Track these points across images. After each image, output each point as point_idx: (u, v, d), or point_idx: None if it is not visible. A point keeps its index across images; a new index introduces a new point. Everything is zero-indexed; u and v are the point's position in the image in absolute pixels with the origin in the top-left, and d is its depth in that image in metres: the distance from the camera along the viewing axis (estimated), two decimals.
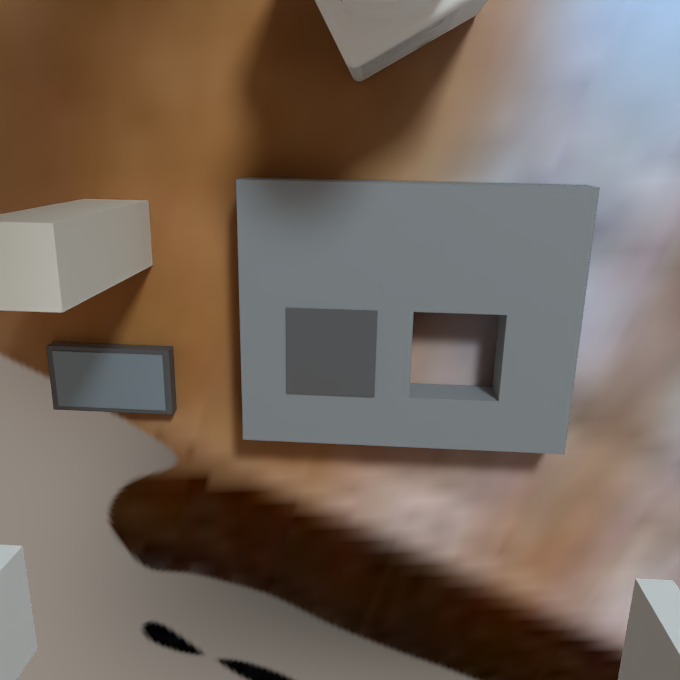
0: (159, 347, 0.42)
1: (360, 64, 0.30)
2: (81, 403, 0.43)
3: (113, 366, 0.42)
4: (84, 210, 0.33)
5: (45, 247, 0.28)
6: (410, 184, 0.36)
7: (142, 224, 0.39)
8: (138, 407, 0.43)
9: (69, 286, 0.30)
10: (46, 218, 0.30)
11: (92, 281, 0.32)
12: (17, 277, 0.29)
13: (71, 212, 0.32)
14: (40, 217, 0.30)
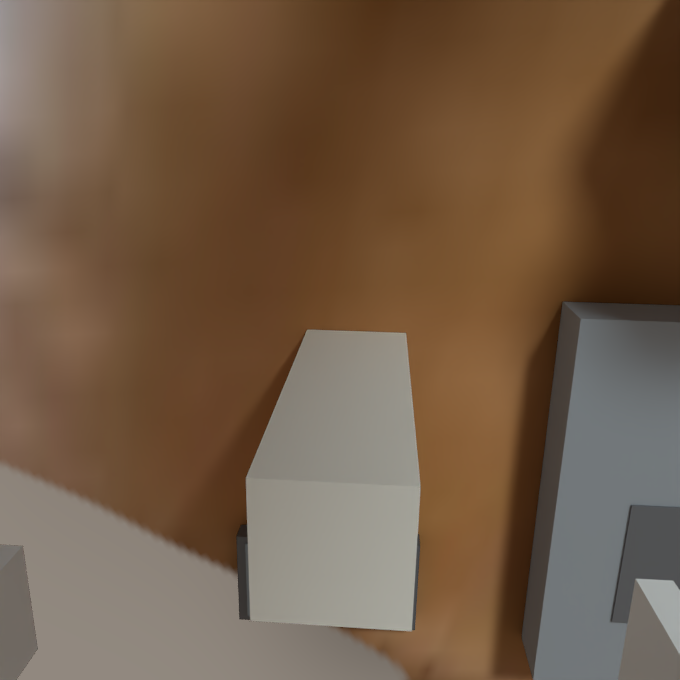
0: None
1: None
2: None
3: None
4: (377, 394, 0.20)
5: (398, 526, 0.15)
6: None
7: None
8: None
9: None
10: (372, 450, 0.16)
11: None
12: (334, 573, 0.16)
13: (371, 407, 0.19)
14: (355, 444, 0.17)
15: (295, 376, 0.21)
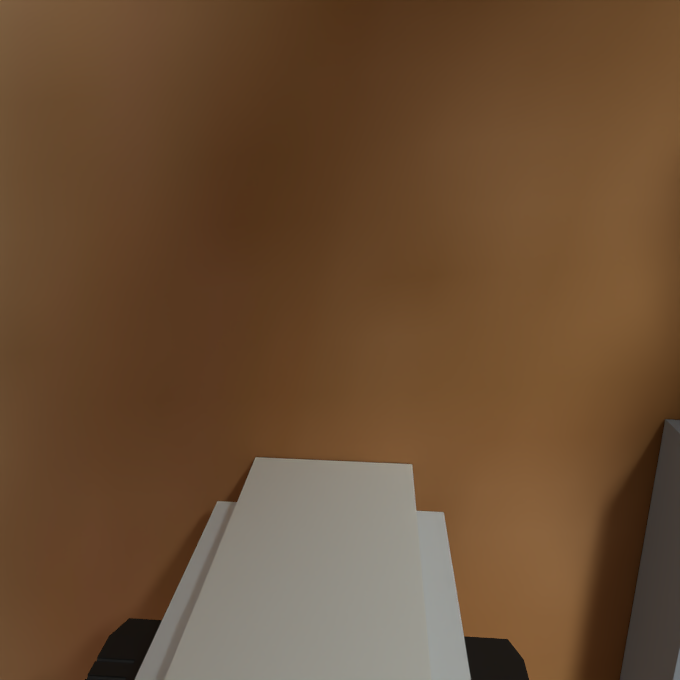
0: None
1: None
2: None
3: None
4: (363, 658, 0.10)
5: None
6: None
7: None
8: None
9: None
10: None
11: None
12: None
13: None
14: None
15: (212, 597, 0.12)
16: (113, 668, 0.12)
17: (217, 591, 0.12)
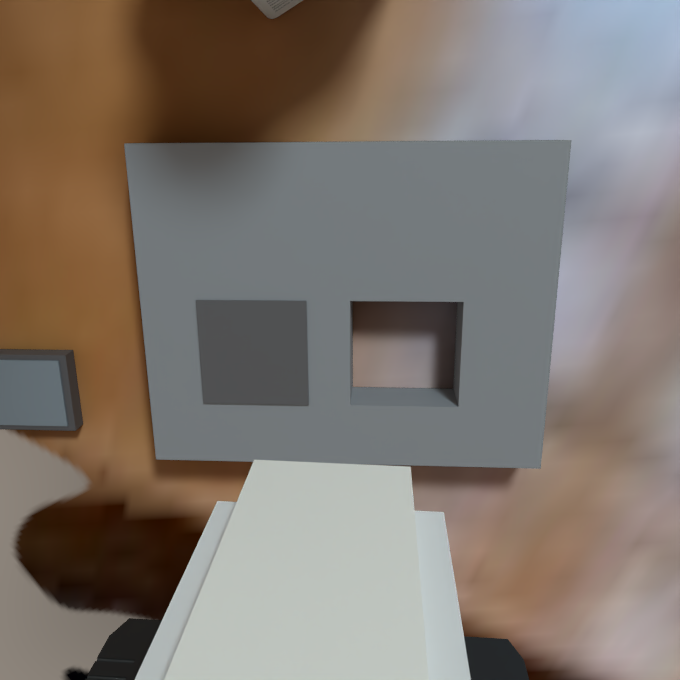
0: (56, 351, 0.35)
1: None
2: None
3: (1, 375, 0.35)
4: (361, 662, 0.10)
5: None
6: (337, 143, 0.29)
7: None
8: (35, 423, 0.36)
9: None
10: None
11: None
12: None
13: None
14: None
15: (210, 600, 0.12)
16: (113, 668, 0.12)
17: (215, 594, 0.12)
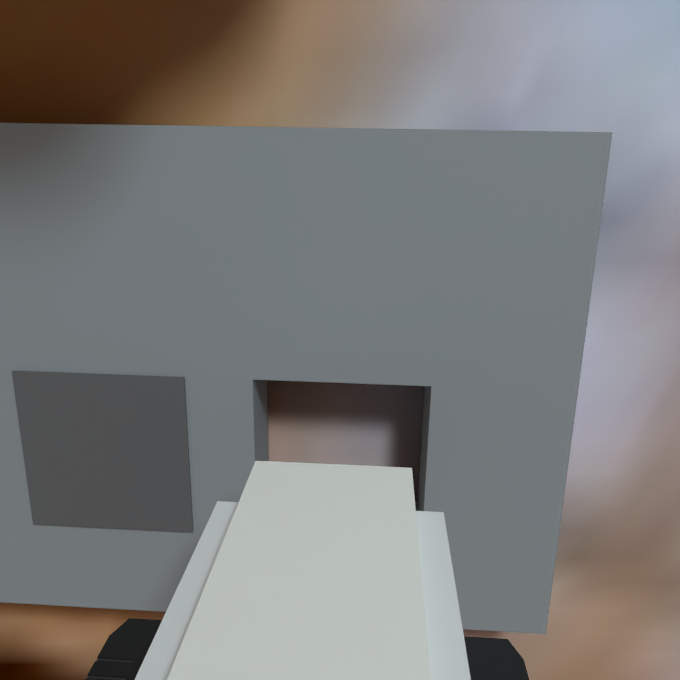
0: None
1: None
2: None
3: None
4: (363, 664, 0.10)
5: None
6: (226, 128, 0.18)
7: None
8: None
9: None
10: None
11: None
12: None
13: None
14: None
15: (212, 602, 0.12)
16: (113, 668, 0.12)
17: (217, 596, 0.12)
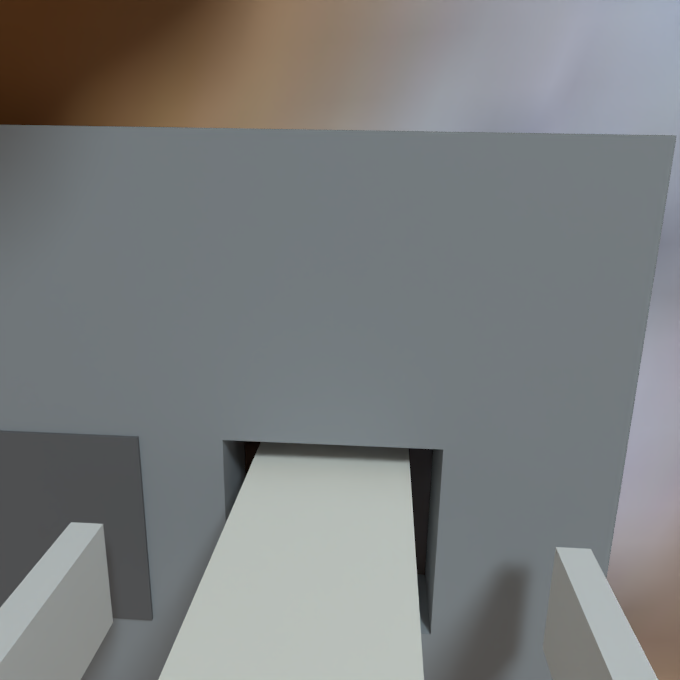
0: None
1: None
2: None
3: None
4: (361, 580, 0.12)
5: None
6: (184, 130, 0.14)
7: None
8: None
9: None
10: None
11: None
12: None
13: (348, 619, 0.11)
14: None
15: (233, 534, 0.13)
16: None
17: (237, 530, 0.14)
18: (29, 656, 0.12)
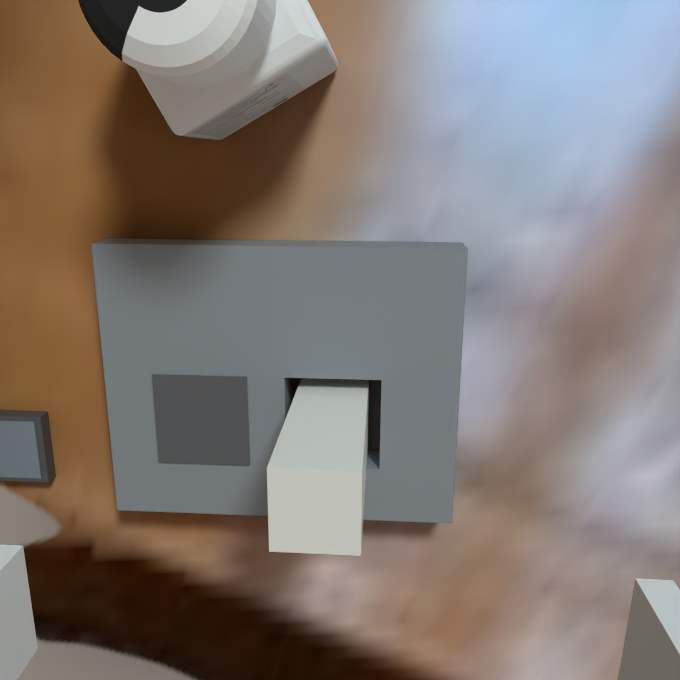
0: (32, 413, 0.40)
1: (186, 132, 0.28)
2: None
3: None
4: (344, 420, 0.32)
5: (350, 494, 0.27)
6: (271, 247, 0.34)
7: None
8: (13, 475, 0.41)
9: None
10: (337, 453, 0.29)
11: (363, 501, 0.31)
12: (316, 522, 0.28)
13: (339, 428, 0.31)
14: (328, 449, 0.29)
15: (294, 409, 0.34)
16: None
17: (295, 408, 0.34)
18: None
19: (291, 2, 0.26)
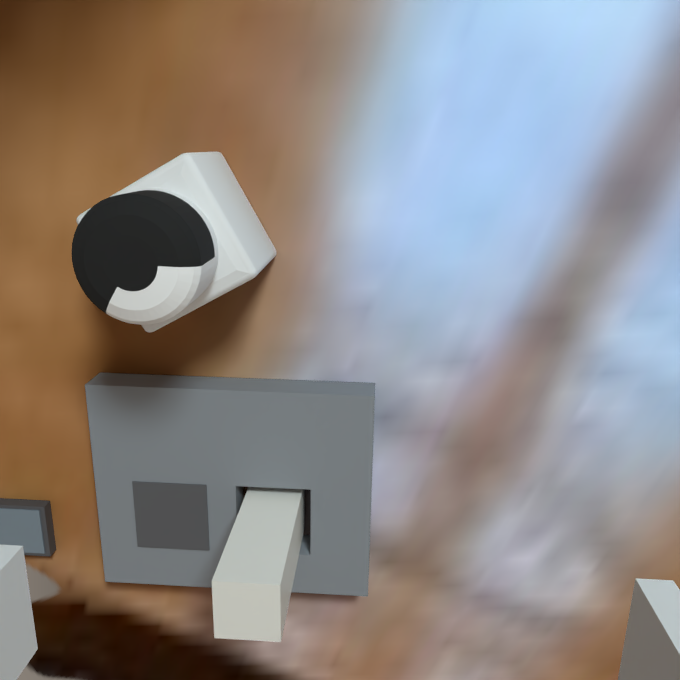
0: (38, 502, 0.50)
1: (155, 330, 0.38)
2: None
3: None
4: (277, 530, 0.43)
5: (272, 599, 0.38)
6: (224, 391, 0.44)
7: (302, 505, 0.48)
8: None
9: (283, 617, 0.39)
10: (265, 566, 0.39)
11: (288, 594, 0.41)
12: (248, 618, 0.38)
13: (271, 539, 0.42)
14: (259, 562, 0.39)
15: (240, 518, 0.44)
16: None
17: (241, 516, 0.44)
18: None
19: (230, 249, 0.36)
